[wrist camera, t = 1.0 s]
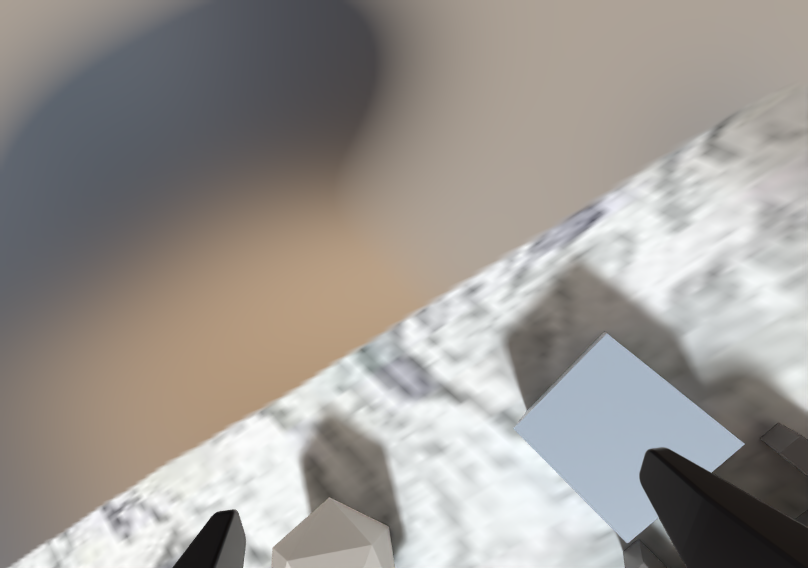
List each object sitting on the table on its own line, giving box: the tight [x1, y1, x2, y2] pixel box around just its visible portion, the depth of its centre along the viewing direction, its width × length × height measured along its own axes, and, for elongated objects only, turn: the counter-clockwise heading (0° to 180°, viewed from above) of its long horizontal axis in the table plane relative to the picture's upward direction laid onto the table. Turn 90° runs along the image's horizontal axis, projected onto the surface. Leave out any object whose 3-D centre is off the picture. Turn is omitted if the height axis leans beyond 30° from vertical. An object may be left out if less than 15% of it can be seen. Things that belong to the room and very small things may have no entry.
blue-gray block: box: [513, 331, 745, 544], centre depth 22 cm, size 8×7×5 cm
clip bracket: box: [623, 423, 808, 568], centre depth 20 cm, size 5×11×2 cm, turn 137°
